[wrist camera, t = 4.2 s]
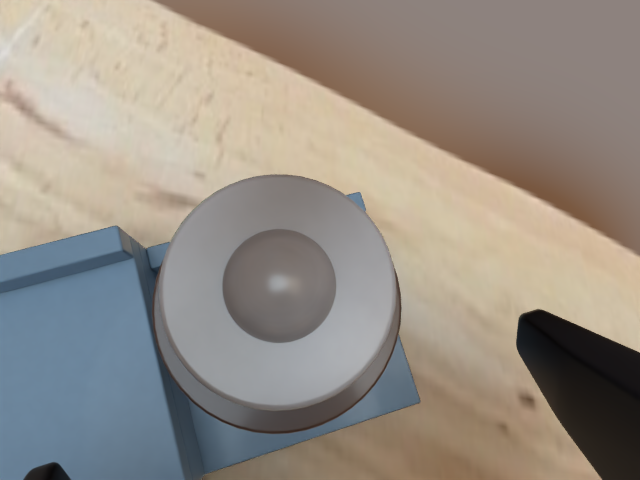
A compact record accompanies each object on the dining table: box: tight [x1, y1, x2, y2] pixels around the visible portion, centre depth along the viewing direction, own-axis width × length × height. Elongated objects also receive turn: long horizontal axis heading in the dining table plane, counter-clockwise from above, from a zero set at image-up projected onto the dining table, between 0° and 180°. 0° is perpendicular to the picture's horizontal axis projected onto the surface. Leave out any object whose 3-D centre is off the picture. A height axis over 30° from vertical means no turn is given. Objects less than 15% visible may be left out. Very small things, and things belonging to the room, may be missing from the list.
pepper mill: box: [152, 175, 401, 434], centre depth 12 cm, size 5×5×13 cm
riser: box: [0, 192, 420, 480], centre depth 16 cm, size 8×17×5 cm, turn 107°
